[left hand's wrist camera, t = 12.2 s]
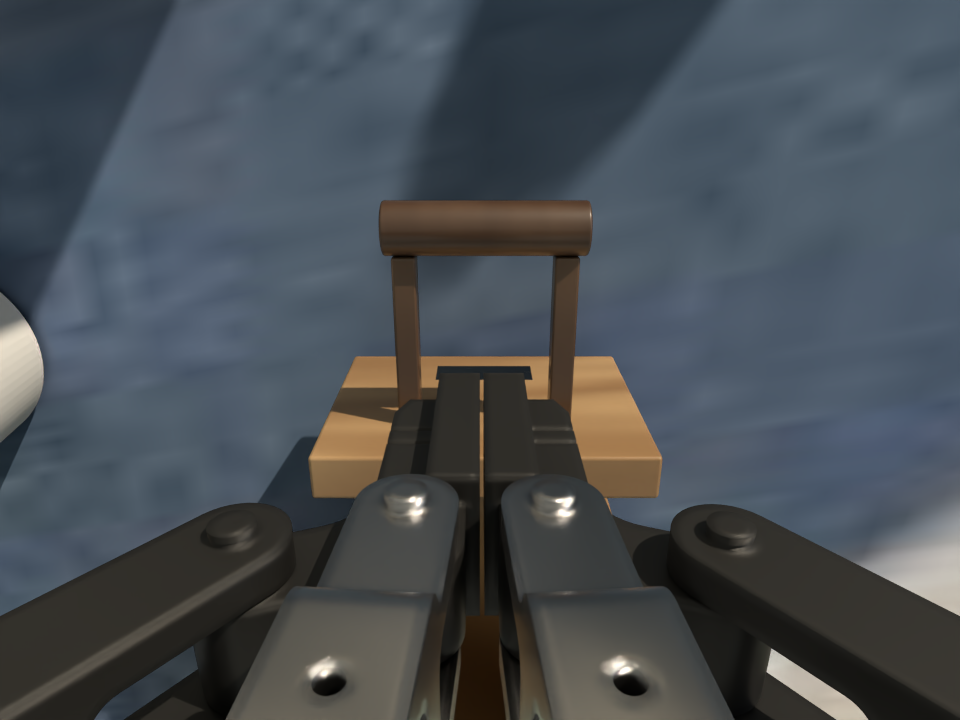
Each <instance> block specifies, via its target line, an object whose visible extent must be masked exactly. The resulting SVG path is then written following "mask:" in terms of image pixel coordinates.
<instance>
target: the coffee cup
mask: <svg viewBox="0 0 960 720" xmlns="http://www.w3.org/2000/svg"><path fill="white" fill-rule="evenodd" d="M43 379H44V369H43V360H42V356H41V352H40V348H39V345H38V343H37V340H36V338H35V336H34V334H33V331H32V330H31V328H30V326H29V324H28V323H27V321H26V320H25V318H24V317H23V316H22V314H21V313H20V312H19V311H18V309H17V308H16V307H15V306H14V305H13V304H12V303H11V302H10V301H9V300H8V299H7V298H6V297H5V296H4V295H3V294H2V293H1V292H0V443H1V442H2V441H3V440H4V439H5V438H6V437H7V436H8V435H9V434H11V433H12V432H13V431H14V430H15V429H16V428H17V427H18V426H19V425H20V424H21V423H23V422H24V421H25V420H26V419H27V418H28V417H29V415H30V414H31V413H32V411H33V410H34V408H35V406H36V405H37V403H38V400H39V398H40V395H41V392H42V387H43Z"/></svg>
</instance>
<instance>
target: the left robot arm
mask: <svg viewBox="0 0 960 720" xmlns="http://www.w3.org/2000/svg"><path fill="white" fill-rule="evenodd" d="M483 498H484V615H485V616H499V667H500V675H501V682H502V690H503V698H504V706H505V714H506V720H836V719H834V718H833V717H831V716H830V715H828V714H827V713H826V712H824V711H823V710H821V709H820V708H818V707H817V706H815V705H814V704H812V703H811V702H809V701H808V700H806V699H805V698H804V697H802V696H801V695H799V694H798V693H796V692H795V691H793V690H792V689H790V688H789V687H787V686H786V685H784V684H783V683H782V682H780V681H779V680H777V679H776V678H774V677H773V676H771V675H770V674H768V673H767V672H766V671H767V666H768V662H769V657H770V652H771V648H772V649H774V650H775V651H777V652H778V653H780V654H781V655H783V656H784V657H786V658H787V659H789V660H790V661H792V662H794V663H795V664H797V665H798V666H800V667H801V668H803V669H804V670H806V671H807V672H809V673H810V674H812V675H814V676H815V677H817V678H818V679H820V680H821V681H823V682H824V683H826V684H827V685H829V686H830V687H832V688H834V689H835V690H837V691H838V692H840V693H841V694H843V695H844V696H846V697H847V698H849V699H850V700H851V701H852V702H854V703H855V704H856V705H857V706H858V707H859V708H860V709H861V710H862V711H863V713H864V714H865V715H866V717H867V718H868V720H960V616H958V615H956V614H954V613H952V612H950V611H948V610H946V609H944V608H942V607H940V606H938V605H936V604H934V603H932V602H931V601H929V600H927V599H925V598H923V597H921V596H919V595H917V594H915V593H913V592H911V591H909V590H907V589H905V588H903V587H901V586H899V585H897V584H895V583H893V582H891V581H889V580H887V579H885V578H883V577H881V576H879V575H877V574H875V573H873V572H871V571H869V570H867V569H865V568H863V567H861V566H859V565H857V564H855V563H853V562H851V561H849V560H847V559H845V558H843V557H841V556H839V555H837V554H835V553H833V552H831V551H829V550H827V549H825V548H823V547H821V546H819V545H817V544H815V543H813V542H811V541H809V540H807V539H805V538H803V537H801V536H799V535H797V534H795V533H793V532H791V531H789V530H787V529H785V528H783V527H781V526H779V525H777V524H775V523H773V522H772V521H770V520H768V519H766V518H764V517H762V516H759V515H757V514H755V513H753V512H750V511H747V510H744V509H741V508H737V507H733V506H727V505H717V504H704V505H697V506H693V507H689V508H687V509H685V510H682V511H681V512H680V513H678V514H677V515H676V516H675V517H674V519H673V521H672V523H671V529H670V531H665V530H660V529H655V528H650V527H645V526H641V525H637V524H633V523H630V522H627V521H624V520H622V519H620V518H618V517H615V516H614V515H612V514H611V512H610V509H609V507H608V505H607V502H606V500H605V498H604V497H603V495H602V494H601V493H600V492H599V490H598V489H596V488H595V487H594V486H592V485H591V484H589V483H588V481H587V477H586V474H585V470H584V466H583V463H582V459H581V455H580V452H579V448H578V444H576V437H575V433H574V431H573V426H572V422H571V419H570V415H569V412H568V411H566V410H565V409H564V408H563V407H562V406H561V405H559V404H558V403H557V402H556V401H555V400H554V399H528V398H527V391H526V385H525V378H524V373H484V378H483ZM466 616H480V373H440V375H439V382H438V390H437V397H436V399H410V400H409V401H408V402H407V403H405V404H404V405H403V406H402V407H401V408H400V409H398V410H397V411H396V412H395V414H394V418H393V422H392V425H391V431H390V433H389V437H388V444H387V445H386V448H385V452H384V456H383V460H382V464H381V467H380V471H379V475H378V479H377V481H375V482H373V483H371V484H369V485H368V486H366V487H365V488H364V489H362V490H361V492H360V493H359V494H358V495H357V497H356V498H355V500H354V502H353V505H352V507H351V509H350V512H349V514H348V516H347V518H346V519H343V520H341V521H338V522H335V523H333V524H329V525H325V526H321V527H316V528H311V529H306V530H301V531H296V532H293V531H292V523H291V520H290V518H289V517H288V515H287V514H286V513H285V512H283V511H282V510H281V509H279V508H276V507H274V506H271V505H267V504H261V503H240V504H234V505H228V506H224V507H220V508H217V509H215V510H212V511H209V512H207V513H205V514H202V515H200V516H198V517H196V518H194V519H192V520H191V521H189V522H187V523H185V524H183V525H181V526H179V527H177V528H175V529H173V530H171V531H169V532H167V533H165V534H163V535H161V536H159V537H157V538H155V539H153V540H151V541H149V542H147V543H145V544H143V545H141V546H139V547H137V548H135V549H133V550H131V551H129V552H127V553H125V554H123V555H121V556H119V557H117V558H115V559H113V560H111V561H109V562H107V563H105V564H103V565H101V566H99V567H97V568H95V569H93V570H91V571H89V572H87V573H85V574H83V575H81V576H79V577H77V578H75V579H73V580H71V581H69V582H67V583H65V584H63V585H61V586H59V587H57V588H55V589H53V590H51V591H49V592H47V593H45V594H43V595H41V596H39V597H37V598H35V599H33V600H32V601H30V602H28V603H26V604H24V605H22V606H20V607H18V608H16V609H14V610H12V611H10V612H8V613H6V614H4V615H2V616H0V720H94V719H95V717H96V716H97V714H98V713H99V712H100V710H101V709H102V708H103V707H104V706H105V705H106V703H108V702H109V701H110V700H111V699H112V698H113V697H115V696H116V695H117V694H119V693H120V692H122V691H123V690H125V689H126V688H128V687H130V686H131V685H133V684H134V683H136V682H137V681H139V680H140V679H142V678H143V677H145V676H146V675H148V674H150V673H151V672H153V671H154V670H156V669H157V668H159V667H160V666H162V665H163V664H165V663H166V662H168V661H170V660H171V659H173V658H174V657H176V656H177V655H179V654H180V653H182V652H183V651H185V650H186V649H188V648H190V647H191V646H194V651H195V656H196V660H197V665H198V670H196V671H195V672H193V673H192V674H190V675H189V676H187V677H186V678H184V679H183V680H181V681H180V682H178V683H177V684H176V685H174V686H173V687H171V688H170V689H168V690H167V691H165V692H164V693H162V694H161V695H159V696H158V697H156V698H155V699H154V700H152V701H151V702H149V703H148V704H146V705H145V706H143V707H142V708H140V709H139V710H137V711H136V712H134V713H133V714H132V715H130V716H129V717H127V718H126V719H124V720H454V714H455V706H456V698H457V690H458V682H459V675H460V667H461V645H462V643H463V640H464V638H465V629H466Z"/></svg>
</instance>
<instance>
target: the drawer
mask: <svg viewBox="0 0 960 720" xmlns="http://www.w3.org/2000/svg"><path fill="white" fill-rule="evenodd" d="M592 227H593V220H592V208H591V204H590V202H589V201H587V200H384V201H382V202H381V204H380V209H379V240H380V247H381V251H382V254H383V255H384V256H393V257H392V259H391V271H392V291H393V311H394V332H395V352H396V357H355V359H354V361H353V363H352V365H351V367H350V369H349V371H348V374H347V376H346V378H345V380H344V382H343V384H342V387H341V389H340V391H339V393H338V395H337V397H336V400H335V402H334V404H333V406H332V408H331V410H330V413H329V415H328V417H327V419H326V421H325V423H324V426H323V428H322V430H321V432H320V434H319V436H318V439H317V441H316V443H315V445H314V447H313V449H312V452H311V454H310V456H309V458H308V462H309V471H310V480H311V490H312V496H313V497H314V498H356V497H357V495H358V494H359V493H360V492H361V490H362V489H364V488H365V487H366V486H368V485H369V484H371V483H373V482H375V481H377V479H378V475H379V471H380V467H381V464H382V460H383V456H384V452H385V448H386V445H387V444H388V437H389V433H390V431H391V425H392V422H393V418H394V414H395V412H396V411H397V410H398V409H400V408H401V407H402V406H403V405H404V404H405V403H407V402H408V401H409V400H410V399H436V397H437V390H438V382H439V375H440V373H480V616H466V629H465V638H464V640H463V643H462V645H461V667H460V675H459V682H458V690H457V698H456V706H455V714H454V720H506V714H505V706H504V698H503V690H502V682H501V675H500V667H499V616H485V615H484V498H483V378H484V373H524V378H525V385H526V391H527V398H528V399H554V400H555V401H556V402H557V403H558V404H559V405H561V406H562V407H563V408H564V409H565V410H566V411H568V412H569V415H570V419H571V422H572V426H573V431H574V433H575V437H576V444H578V448H579V452H580V455H581V459H582V463H583V466H584V470H585V474H586V477H587V481H588V483H589V484H591V485H592V486H594V487H595V488H596V489H598V490H599V492H600V493H601V494H602V495H603V497H604V498H605V500H606V502H607V505H608V507H609V509H610V506H609V503H608V500H607V498H656V497H657V496H658V494H659V485H660V476H661V467H662V457H661V454H660V452H659V450H658V448H657V446H656V444H655V442H654V440H653V438H652V436H651V434H650V432H649V430H648V428H647V426H646V424H645V422H644V420H643V418H642V416H641V414H640V412H639V410H638V408H637V406H636V404H635V402H634V400H633V398H632V396H631V394H630V392H629V390H628V388H627V386H626V384H625V382H624V380H623V378H622V376H621V374H620V372H619V370H618V367H617V365H616V363H615V361H614V359H613V357H575V339H576V321H577V303H578V285H579V268H580V259H579V257H578V256H586V255H588V253H589V251H590V247H591V241H592ZM417 256H553V274H552V299H551V323H550V347H549V357H421V352H420V323H419V294H418V265H417ZM610 512H611V510H610ZM611 514H612V513H611Z"/></svg>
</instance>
